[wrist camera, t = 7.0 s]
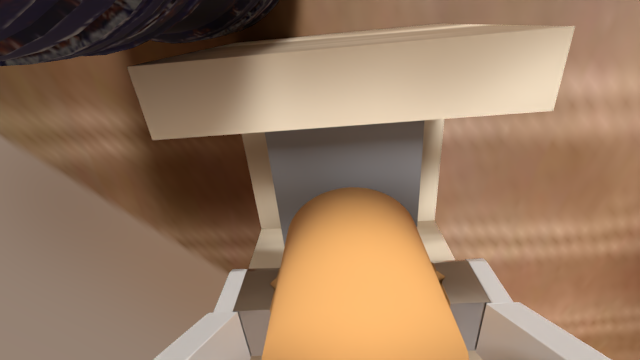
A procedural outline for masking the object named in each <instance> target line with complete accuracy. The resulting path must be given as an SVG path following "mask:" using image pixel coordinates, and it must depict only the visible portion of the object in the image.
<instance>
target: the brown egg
mask: <svg viewBox="0 0 640 360" xmlns="http://www.w3.org/2000/svg"><path fill="white" fill-rule="evenodd" d="M262 360H469V355H468V351H467V348H466V345H465V343H464V340H463V338H462V335H461V333H460V331H459V328H458V326H457V323H456V321H455V319H454V316H453V314H452V311H451V309H450V307H449V304H448V302H447V299H446V297H445V295H444V292H443V290H442V287H441V285H440V283H439V280H438V278H437V275H436V273H435V271H434V268H433V266H432V263H431V261H430V259H429V256H428V254H427V251H426V249H425V247H424V244H423V242H422V239H421V237H420V235H419V232H418V230H417V227H416V225H415V223H414V220H413V219H412V217H411V215H410V213H409V212H408V211H407V210H406V208H405V207H404V206H403V205H401V204H400V203H399V202H398V201H397V200H395V199H394V198H392V197H390V196H388V195H386V194H384V193H382V192H379V191H376V190H372V189H368V188H359V187H348V188H340V189H335V190H331V191H328V192H325V193H323V194H320V195H318V196H316V197H314V198H313V199H311V200H310V201H308V202H307V203H306V204H305V205H304V206H302V207H301V208H300V210H299V211H298V212H297V213H296V214H295V216H294V218H293V219H292V221H291V223H290V226H289V229H288V233H287V237H286V242H285V247H284V252H283V257H282V262H281V267H280V272H279V277H278V282H277V286H276V291H275V297H274V301H273V306H272V311H271V316H270V320H269V325H268V330H267V335H266V340H265V345H264V350H263V354H262Z"/></svg>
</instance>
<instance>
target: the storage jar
mask: <svg viewBox="0 0 640 360" xmlns="http://www.w3.org/2000/svg"><path fill="white" fill-rule="evenodd" d="M278 1H279V0H0V66H9V65H27V64H36V63H41V62H51V61H58V60H62V59H71V58H75V57H79V56H94V55H107V54H111V53H115V52H119V51H123V50H127V49H131V48H134V47H136V46H138V45H140V44H142V43H144V42H146V41H148V40H152V41H156V42H166V43H186V42H194V41H198V40H206V39H212V38H216V37H220V36H224V35H227V34H229V33H233V32H237V31H241V30H243V29H245V28H247V27H250V26H252V25H253V24H255V23H256V22H258V21H259V20H261V19H262V18H264V17H265V16H266V15H267V14H268V13H269V12H270V11H271V10H272V9H273V8H274V7H275V6H276V4H277V3H278Z"/></svg>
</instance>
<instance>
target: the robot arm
mask: <svg viewBox="0 0 640 360" xmlns="http://www.w3.org/2000/svg"><path fill="white" fill-rule="evenodd" d="M431 263H432V266H433V268H434V271H435V273H436V275H437V278H438V280H439V283H440V285H441V287H442V290H443V292H444V295H445V297H446V299H447V302H448V304H449V307H450V309H451V311H452V314H453V316H454V319H455V321H456V323H457V326H458V328H459V331H460V333H461V335H462V338H463V340H464V343H465V345H466V348H467V351H476V353H477V354H478V355H479V356H480V357H481V358H482V359H483V360H611V359H610V358H608V357H606V356H605V355H603V354H602V353H600V352H598V351H597V350H595V349H594V348H592V347H590V346H589V345H587V344H586V343H584V342H582V341H581V340H579V339H578V338H576V337H574V336H573V335H571V334H570V333H568V332H566V331H565V330H563V329H562V328H560V327H558V326H557V325H555V324H554V323H552V322H550V321H549V320H547V319H545V318H544V317H542V316H541V315H539V314H537V313H536V312H534V311H533V310H531V309H529V308H528V307H526V306H525V305H523V304H521V303H520V302H513V301H512V299H511V297H510V296H509V294H508V293H507V291H506V290H505V288H504V287H503V285H502V284H501V282H500V281H499V279H498V278H497V276H496V275H495V273H494V272H493V270H492V269H491V267H490V266H489V264H488V263H487V261H486V260H484V259H483V258H479V259H465V260H447V261H431ZM279 272H280V268H255V269H233V270H232V271H231V272H230V273H229V275H228V277H227V280H226V282H225V285H224V287H223V290H222V292H221V294H220V297H219V299H218V302H217V304H216V307H215V309H214V312H213V313H207V314H206V315H205V316H204V317H203V318H202V319H200V320H199V321H198V322H197V323H196V324H195V325H193V326H192V327H191V328H190V329H189V330H187V332H185V333H184V334H183V335H182V336H180V337H179V338H178V339H177V340H176V341H174V342H173V343H172V344H171V345H170V346H169V347H167V348H166V349H165V350H164V351H163V352H162V353H160V354H159V355H158V356H157V357H156V358H155V359H153V360H250V359H251V356H262V354H263V350H264V345H265V340H266V335H267V330H268V325H269V320H270V316H271V311H272V306H273V301H274V297H275V291H276V286H277V282H278V277H279Z"/></svg>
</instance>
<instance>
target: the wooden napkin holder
mask: <svg viewBox="0 0 640 360" xmlns="http://www.w3.org/2000/svg"><path fill="white" fill-rule="evenodd" d="M574 28H575V26H531V25H481V24H432V25H421V26H410V27H400V28H389V29H378V30H367V31H357V32H346V33H335V34H325V35H314V36H303V37H292V38H282V39H271V40H260V41H250V42H239V43H232V44H227V45H223V46H218V47H214V48H209V49H205V50H200V51H196V52H191V53H187V54H182V55H178V56H173V57H169V58H164V59H160V60H155V61H151V62H146V63H142V64H137V65H133V66H128V67H127V69H128V71H129V74H130V77H131V80H132V83H133V86H134V89H135V92H136V94H137V97H138V100H139V103H140V106H141V109H142V112H143V114H144V117H145V120H146V123H147V126H148V129H149V132H150V135H151V137H152V140H162V139H176V138H189V137H203V136H216V135H230V134H242V139H243V143H244V148H245V153H246V158H247V163H248V167H249V172H250V177H251V182H252V186H253V191H254V196H255V201H256V206H257V210H258V215H259V220H260V225H261V232H260V235H259V238H258V241H257V244H256V247H255V250H254V253H253V256H252V259H251V262H250V265H249V268H248V269H255V268H280V267H281V262H282V257H283V252H284V247H285V242H286V237H287V233H288V229H289V226H290V223H291V221H292V219H293V218H294V216H295V214H296V213H297V212H298V211H299V210H300V208H301V207H302V206H304V205H305V204H306V203H307V202H308V201H310V200H311V199H313V198H314V197H316V196H318V195H320V194H323V193H325V192H328V191H331V190H335V189H340V188H348V187H359V188H368V189H372V190H376V191H379V192H382V193H384V194H386V195H388V196H390V197H392V198H394V199H395V200H397V201H398V202H399V203H400V204H401V205H403V206H404V207H405V208H406V210H407V211H408V212H409V213H410V215H411V217H412V219H413V220H414V223H415V225H416V227H417V230H418V232H419V235H420V237H421V239H422V242H423V244H424V247H425V249H426V251H427V254H428V256H429V259H430V261H447V260H455V259H454V257H453V255H452V253H451V251H450V249H449V247H448V245H447V243H446V241H445V239H444V238H443V236H442V234H441V232H440V230H439V228H438V226H437V224H436V222H435V210H436V200H437V190H438V180H439V170H440V160H441V150H442V140H443V130H444V120H445V119H448V118H462V117H476V116H489V115H503V114H516V113H530V112H544V111H553V110H554V106H555V102H556V98H557V94H558V90H559V86H560V83H561V79H562V75H563V71H564V67H565V63H566V59H567V55H568V52H569V48H570V44H571V40H572V36H573V32H574ZM468 355H469V360H483V359H482V358H481V357H480V356H479V355H478V354H477V353H476V351H468ZM250 360H262V356H251V359H250Z"/></svg>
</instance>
